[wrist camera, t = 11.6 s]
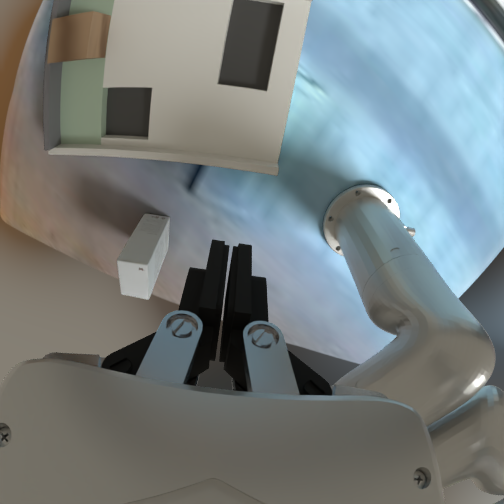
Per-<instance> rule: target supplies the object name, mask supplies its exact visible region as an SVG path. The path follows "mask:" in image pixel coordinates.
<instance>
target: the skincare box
mask: <svg viewBox="0 0 504 504" xmlns="http://www.w3.org/2000/svg"><path fill="white" fill-rule="evenodd" d="M169 224H170V217H166V216H159V215H152V214H144V215H143V217H142V218H141V220H140V222H139V223H138V225H137V227H136V228H135V230H134V231H133V233H132V235H131V237H130V238H129V240H128V242H127V243H126V245H125V247H124V249H123V250H122V252H121V254H120V255H119V257H118V259H117V266H118V275H119V281H120V289H121V294H122V295H128V296H133V297H138V298H143V299H147V300H148V299H149V298H150V295H151V293H152V290H153V287H154V285H155V282H156V279H157V276H158V274H159V271H160V268H161V266H162V263H163V261H164V258H165V256H166V253H167V250H168V245H169Z"/></svg>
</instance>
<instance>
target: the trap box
mask: <svg viewBox="0 0 504 504" xmlns="http://www.w3.org/2000/svg"><path fill="white" fill-rule="evenodd" d="M311 1H312V0H54V2H53V7H52V13H51V18H50V25H49V31H48V39H47V47H46V57H45V70H44V89H43V128H44V149H45V150H49V155H85V156H107V157H124V158H138V159H151V160H162V161H172V162H182V163H191V164H200V165H208V166H216V167H223V168H231V169H238V170H245V171H251V172H258V173H264V174H270V175H276V176H277V175H278V171H279V166H278V159H279V155H280V150H281V145H282V141H283V136H284V131H285V126H286V122H287V117H288V112H289V107H290V102H291V98H292V93H293V88H294V83H295V78H296V74H297V69H298V64H299V59H300V54H301V49H302V44H303V40H304V35H305V30H306V25H307V20H308V15H309V10H310V5H311ZM91 11H95V12H99V13H103V14H107V15H110V16H111V20H110V26H109V32H108V39H107V47H106V55H105V58H96V59H85V60H76V61H68V62H57V63H48V64H47V59H48V49H49V41H50V33H51V26H52V20H53V19H56V18H60V17H64V16H69V15H74V14H79V13H85V12H91Z"/></svg>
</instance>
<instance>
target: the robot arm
mask: <svg viewBox="0 0 504 504" xmlns="http://www.w3.org/2000/svg"><path fill="white" fill-rule="evenodd" d="M356 191H357V192H356ZM330 216H331V217H330ZM323 232H324V235H325V238H326V241H327V243H328V244H329V246H330V247H331V248H332V249H333V250H334V251H335V252H336V253H338V254H339V255H341V256H344V257H345V260H346V262H347V265H348V267H349V269H350V272H351V274H352V277H353V279H354V282H355V284H356V287H357V289H358V292H359V294H360V297H361V299H362V302H363V305H364V307H365V309H366V312H367V314H368V316H369V318H370V319H371V321H372V322H373V323H374V324H375V325H376V326H377V327H379V328H380V329H382V330H384V331H386V332H388V333H391V334H393V335H397V337H396V338H395V339H394V340H393V341H392V342H390V343H389V344H388V345H387V346H385V347H384V348H383V349H382V350H381V351H380V352H378V353H377V354H375V355H374V356H372V357H371V358H370V359H368V360H367V361H365V362H364V363H362V364H361V365H360V366H358V367H356V368H355V369H353V370H352V371H351V372H349V373H348V374H346V375H345V376H343V377H342V378H341V379H339V380H338V381H337V382H336V383H335V384H334V385H333V386H332V385H329V383H328V382H327V381H326V380H325V379H323V378H322V377H321V376H320V375H318V374H317V373H316V372H314V371H313V370H312V369H311V368H310V367H308V366H307V365H306V364H305V363H303V362H302V361H301V360H300V359H298V358H297V357H296V356H295V355H293V354H292V353H291V352H290V351H288V350H287V347H286V344H285V340H284V336H283V334H282V332H281V330H280V329H279V328H278V327H277V326H275V325H274V324H272V323H269V322H268V304H267V285H266V278H264V277H256V276H252V245H246V244H239V245H238V247H236V246H233V252H232V258H231V264H230V271H229V277H228V283H227V290H226V297H225V306H224V316H223V326H222V337H221V348H220V359H219V361H220V362H224V370H225V371H226V372H227V373H228V374H229V375H230V376H231V377H232V386H233V390H223V389H215V388H206V387H198V386H196V385H197V382H198V379H199V374H200V373H202V372H204V371H205V370H206V369H208V368H209V361H210V360H212V361H215V357H216V349H217V342H218V336H219V329H220V322H221V315H222V307H223V298H224V289H225V280H226V271H227V262H228V254H229V245H224V244H225V241H218V240H212V243H211V248H210V253H209V258H208V262H207V267H206V270H205V269H198V268H191V267H190V269H189V272H188V275H187V279H186V283H185V287H184V291H183V294H182V298H181V302H180V306H179V310H178V311H174V312H171V313H169V314H168V315H166V316H165V318H164V319H163V320H162V322H161V324H160V326H159V328H158V330H157V332H155V333H153V334H151V335H149V336H147V337H145V338H143V339H141V340H138V341H136V342H135V343H132V344H130V345H128V346H126V347H124V348H122V349H120V350H118V351H116V352H113V353H111V354H110V355H108V356H107V357H106V358H102V357H100V356H99V355H92V354H72V353H57V352H56V353H50V354H47V355H45V357H44V358H42V359H31V360H26V361H23V362H20V363H18V364H17V365H15V366H14V367H13V368H12V369H11V370H10V371H9V372H8V374H7V375H6V377H5V378H4V380H3V381H2V383H1V385H0V504H445V499H444V493H443V489H445V488H447V487H449V486H451V485H454V484H456V483H458V482H461V481H463V480H467V479H471V480H472V481H473V482H474V484H475V485H476V486H477V487H478V488H479V489H480V490H481V491H484V492H486V493H489V494H493V495H504V392H503V391H502V390H501V389H500V388H498V387H495V386H492V385H490V386H484V385H485V384H486V382H487V381H488V379H489V378H490V376H491V374H492V372H493V368H494V365H495V351H494V347H493V344H492V342H491V340H490V338H489V336H488V334H487V333H486V331H485V330H484V328H483V327H482V326H481V324H480V323H479V322H478V321H477V320H476V319H475V317H474V316H473V315H472V314H471V313H470V312H469V311H468V310H467V308H466V307H465V306H464V305H463V304H462V303H461V302H460V300H459V299H458V298H457V297H456V295H455V294H454V293H453V292H452V291H451V289H450V288H449V287H448V285H447V284H446V283H445V281H444V280H443V278H442V277H441V276H440V274H439V273H438V272H437V270H436V269H435V267H434V266H433V264H432V263H431V262H430V261H429V259H428V258H427V256H426V255H425V254H424V252H423V251H422V250H421V248H420V247H419V246H418V244H417V243H416V242H415V240H414V239H413V238H412V237H413V236H414V235H415V229H414V228H411V227H406V226H405V225H404V224H403V223H402V221H401V220H400V211H399V208H398V204H397V203H396V201H395V199H394V198H393V197H392V196H391V194H390V193H388V192H387V191H386V190H385V189H383V188H381V187H379V186H375V185H366V184H364V185H357V186H354V187H351V188H349V189H347V190H345V191H343V192H342V193H340V194H339V195H338V196H337V197H336V198H335V199H334V200H333V201H332V202H331V203H330V205H329V207H328V209H327V210H326V213H325V216H324V221H323ZM483 386H484V387H483ZM494 504H504V498H503V499H501V500H500V501H498V502H496V503H494Z"/></svg>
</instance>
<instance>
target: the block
mask: <svg viewBox="0 0 504 504" xmlns="http://www.w3.org/2000/svg"><path fill="white" fill-rule="evenodd" d="M110 20H111V16H110V15H107V14H103V13H99V12H95V11H91V12H85V13H79V14H74V15H69V16H64V17H60V18H56V19H53V20H52V26H51V33H50V41H49V49H48V59H47V64H48V63H57V62H68V61H76V60H85V59H96V58H105V55H106V47H107V39H108V32H109V26H110Z"/></svg>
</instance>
